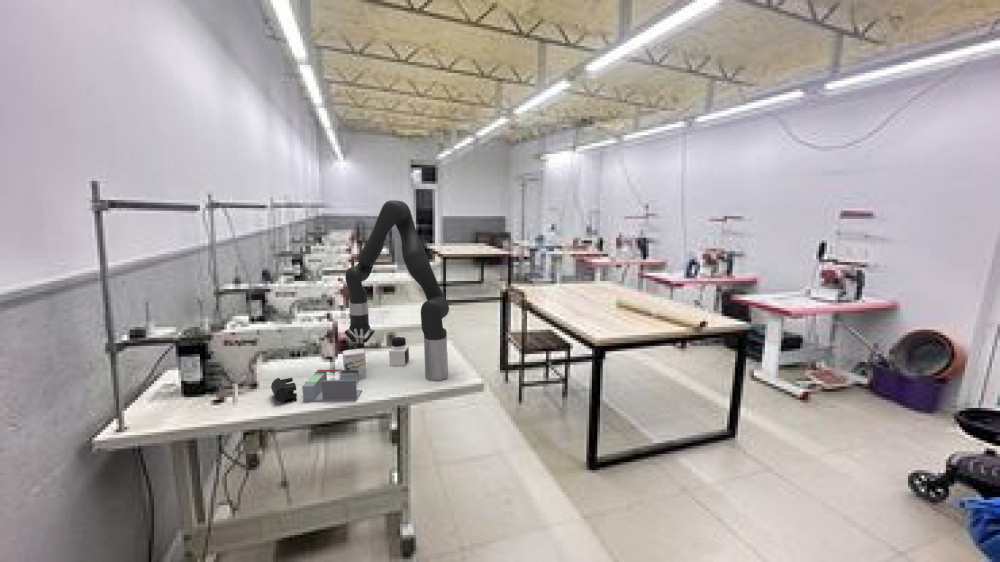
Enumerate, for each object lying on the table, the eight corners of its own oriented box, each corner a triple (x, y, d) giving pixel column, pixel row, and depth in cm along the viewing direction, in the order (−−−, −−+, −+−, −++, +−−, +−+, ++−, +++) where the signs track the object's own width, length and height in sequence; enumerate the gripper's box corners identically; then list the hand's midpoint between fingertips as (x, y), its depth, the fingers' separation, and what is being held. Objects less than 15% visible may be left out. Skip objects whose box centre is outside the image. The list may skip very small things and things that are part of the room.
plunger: (358, 382, 171) (358, 367, 170) (356, 385, 167) (355, 370, 166) (320, 382, 170) (319, 368, 169) (317, 386, 167) (316, 371, 166)
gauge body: (366, 385, 170) (365, 366, 169) (356, 401, 157) (355, 380, 155) (317, 386, 169) (315, 367, 168) (303, 402, 156) (301, 381, 154)
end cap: (271, 396, 161) (270, 379, 159) (292, 391, 165) (291, 375, 163) (275, 406, 153) (274, 388, 151) (297, 401, 157) (296, 384, 155)
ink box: (345, 382, 173) (343, 354, 171) (344, 377, 177) (342, 350, 175) (367, 379, 176) (365, 351, 174) (365, 374, 181) (364, 347, 179)
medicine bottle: (405, 366, 190) (404, 340, 188) (389, 366, 190) (388, 340, 188) (409, 360, 197) (408, 335, 195) (393, 360, 197) (392, 335, 195)
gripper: (376, 310, 187) (378, 348, 190) (346, 310, 186) (347, 348, 189) (372, 314, 179) (374, 354, 183) (340, 314, 179) (342, 354, 182)
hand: (360, 351), depth 186 cm, fingers closed
